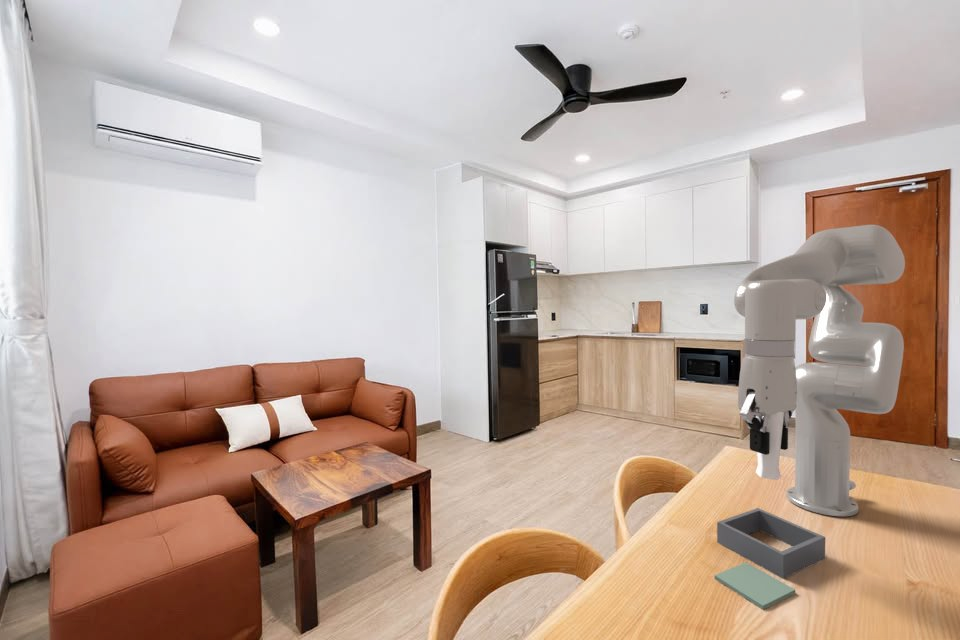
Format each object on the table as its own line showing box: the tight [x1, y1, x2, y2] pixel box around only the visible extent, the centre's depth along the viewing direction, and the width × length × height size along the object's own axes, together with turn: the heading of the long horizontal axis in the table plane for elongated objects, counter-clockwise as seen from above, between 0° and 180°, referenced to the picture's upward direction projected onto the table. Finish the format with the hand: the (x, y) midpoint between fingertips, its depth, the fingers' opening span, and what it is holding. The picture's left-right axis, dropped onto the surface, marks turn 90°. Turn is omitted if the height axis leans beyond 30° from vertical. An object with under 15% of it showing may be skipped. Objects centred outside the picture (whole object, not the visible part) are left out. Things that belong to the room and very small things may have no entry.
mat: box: [714, 561, 796, 610], centre depth 70 cm, size 8×8×1 cm
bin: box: [716, 507, 826, 579], centre depth 80 cm, size 12×12×4 cm
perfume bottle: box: [755, 409, 784, 481], centre depth 78 cm, size 5×4×15 cm
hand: (768, 448), depth 78 cm, fingers closed on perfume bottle, 4 cm apart
